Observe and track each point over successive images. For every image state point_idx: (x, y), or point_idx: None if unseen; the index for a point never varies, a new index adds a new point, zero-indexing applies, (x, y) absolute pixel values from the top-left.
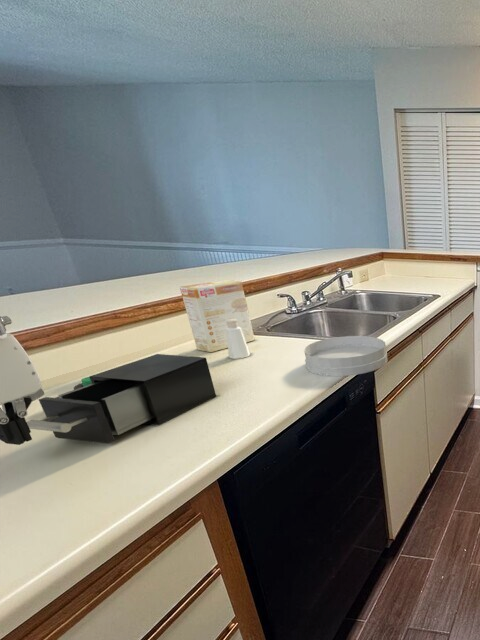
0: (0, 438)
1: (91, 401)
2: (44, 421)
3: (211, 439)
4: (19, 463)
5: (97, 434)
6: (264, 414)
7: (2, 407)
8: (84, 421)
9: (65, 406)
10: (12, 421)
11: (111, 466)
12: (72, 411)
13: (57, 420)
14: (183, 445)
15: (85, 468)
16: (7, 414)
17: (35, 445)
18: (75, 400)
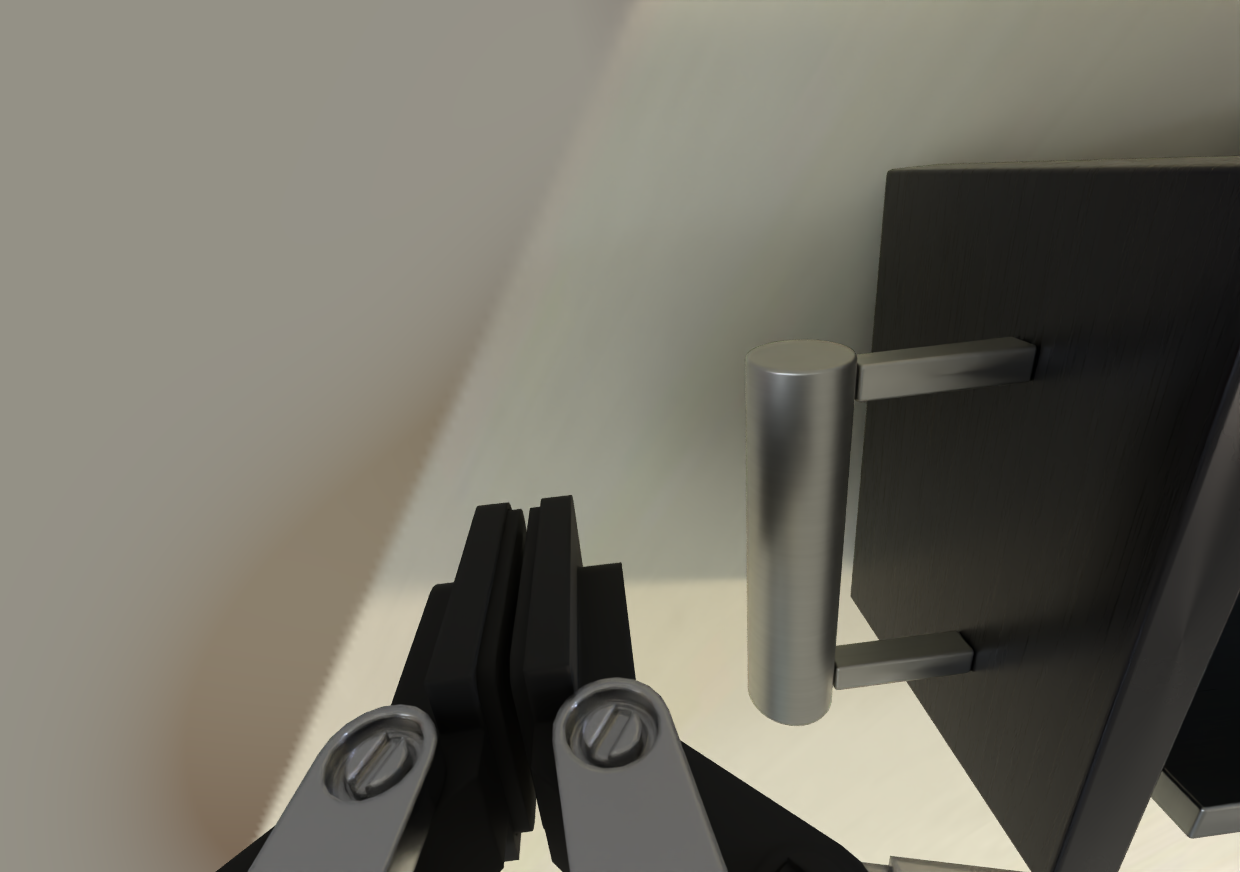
0: (434, 599)
1: (1129, 834)
2: (813, 548)
3: (958, 850)
4: (570, 281)
5: (883, 590)
6: (1203, 849)
7: (568, 842)
8: (949, 602)
9: (1088, 579)
10: (509, 854)
11: (686, 736)
12: (1029, 597)
13: (985, 311)
14: (898, 810)
15: (641, 664)
16: (547, 809)
17: (797, 45)
18: (1180, 690)
